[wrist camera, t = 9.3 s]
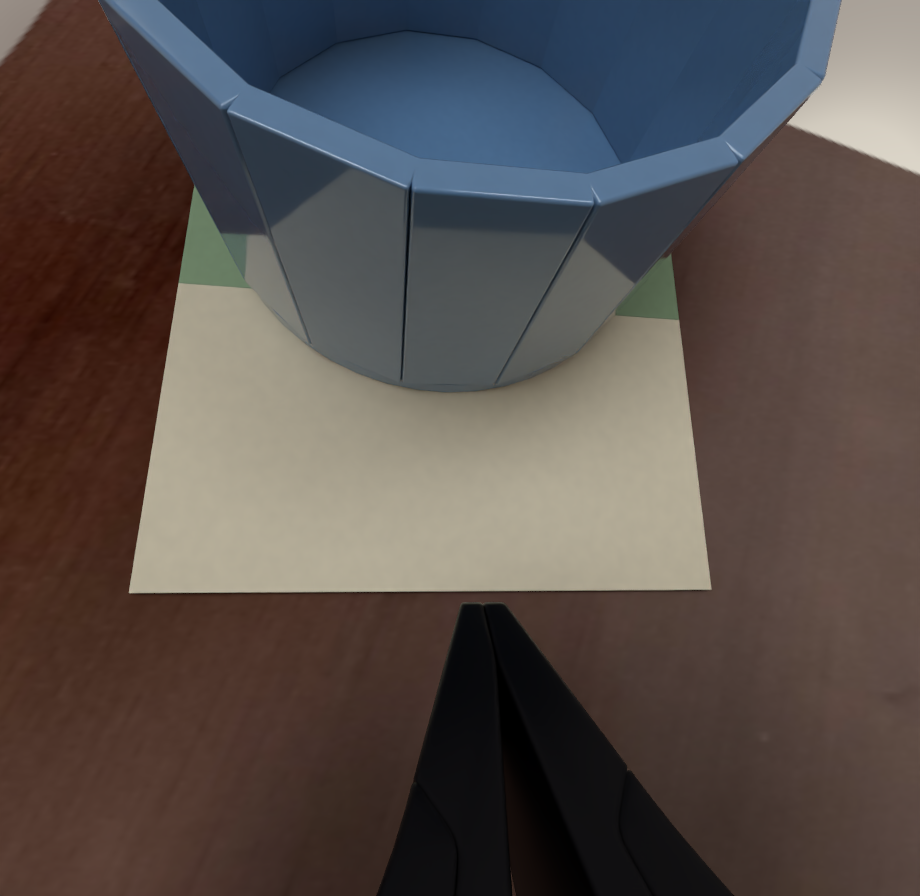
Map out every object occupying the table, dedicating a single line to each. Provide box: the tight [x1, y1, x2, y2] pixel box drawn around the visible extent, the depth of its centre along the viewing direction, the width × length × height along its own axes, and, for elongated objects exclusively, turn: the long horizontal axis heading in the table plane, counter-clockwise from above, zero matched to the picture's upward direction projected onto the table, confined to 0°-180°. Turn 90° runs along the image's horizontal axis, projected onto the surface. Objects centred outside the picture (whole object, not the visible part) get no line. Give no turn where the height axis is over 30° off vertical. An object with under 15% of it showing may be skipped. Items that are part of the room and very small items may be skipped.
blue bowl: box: [98, 0, 841, 392], centre depth 15 cm, size 16×16×10 cm
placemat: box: [129, 185, 711, 593], centre depth 18 cm, size 20×19×1 cm
